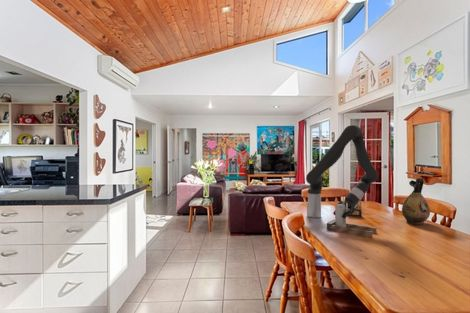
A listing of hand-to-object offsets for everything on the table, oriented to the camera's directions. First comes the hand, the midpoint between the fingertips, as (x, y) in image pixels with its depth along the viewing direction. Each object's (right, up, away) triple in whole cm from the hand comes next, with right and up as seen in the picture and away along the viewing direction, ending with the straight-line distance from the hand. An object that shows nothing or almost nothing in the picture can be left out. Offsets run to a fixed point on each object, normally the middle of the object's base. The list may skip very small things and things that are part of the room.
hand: (338, 216), depth 161 cm
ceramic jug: (+58, -8, +15) cm, 60 cm away
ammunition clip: (+25, -8, +35) cm, 44 cm away
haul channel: (+6, -8, -4) cm, 11 cm away
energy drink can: (+1, -8, +1) cm, 8 cm away
